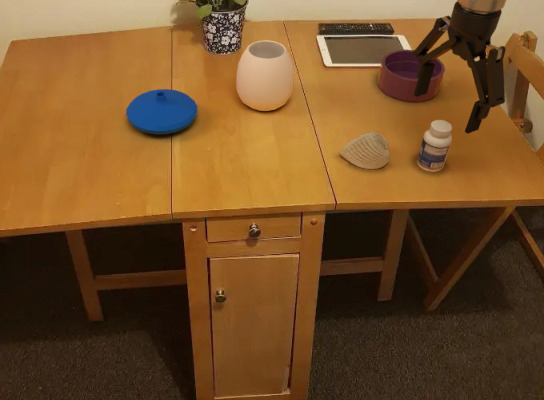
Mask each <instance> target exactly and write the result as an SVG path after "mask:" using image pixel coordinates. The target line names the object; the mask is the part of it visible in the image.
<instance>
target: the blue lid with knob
mask: <svg viewBox="0 0 544 400" xmlns="http://www.w3.org/2000/svg"><path fill="white" fill-rule="evenodd" d="M197 114H198V105H197V103H196V101H195V100H194V99H193V98H192V97H191V96H190V95H188V94H187V93H185V92H182V91H179V90H176V89H169V88H161V89H160V88H159V89H154V90H149V91H146V92H143V93H141V94H139V95H137V96H135V98H134V99H132V100H131V101H130V103H129V104H128V105H127V108H126V112H125V115H126V117H127V120H128V121H129V123H130V125H132V126H133V128H135V129H137V130H138V131H140V132H143V133H146V134H150V135H169V134H174V133H177V132H180V131H183V130H184V129H186V128H188V127H190V126H191V124H192V123H194V121H195V119H196V117H197Z"/></svg>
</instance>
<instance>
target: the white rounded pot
mask: <svg viewBox="0 0 544 400" xmlns="http://www.w3.org/2000/svg"><path fill="white" fill-rule="evenodd" d="M294 67H295V66H294V63H293V59H292V56H291V55H290V53H289V51H288V49H287V48H286V46H285V45H284V44H282V43H280V42H278V41H274V40H267V39H266V40H264V39H263V40H256V41H254V42H252V43H249V44H248V46H247V47H246V48H245V49H244V52H243V53H242V54H241V57H240V59H239V61H238V64H237V69H236V78H235V79H236V80H235V83H236V86H235V87H236V89H235V90H236V93H237V94H238V97H239V99H240V100H241V102H242V103H243V104H244V105H246V106H248V107H249V108H251V109H252V110H255V111H258V112H259V111H260V112H270V111H275V110H277V109H279V108H281V107H283V106H284V105H286V103H287V102H288V101H289V100H290V97H291V96H292V94H293V92H294V84H295V83H294V82H295V79H294V78H295V74H294V73H295V69H294Z"/></svg>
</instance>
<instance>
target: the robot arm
mask: <svg viewBox="0 0 544 400" xmlns="http://www.w3.org/2000/svg"><path fill="white" fill-rule="evenodd" d="M506 2H507V0H456V1H455V2H454V5H453V8H452V11H451V15H445V16H442V17H437V18H436V20H435V22H434V24H433V27H432V29H431V30H430V31H429V32H428V34H427V35H426V36H425V37H424V38H423V39H422V41H421V42H420V43H419V44H418V45H417V47H416V48H415V49H413V50H414V52H413V56H414V57H417V58H418V59H419V63H420V64H419V68H418V71H417V78H418V81H417V85H416V88H415V92H414V96H416V97H418V96H421V95H424V94H427V91H428V87H429V84H430V80H431V77H432V73H433V70H434V66H435V64H434V63H430V62H431V61H434V59H436V58H438V59H439V57H441V56H443V55H445V54H447V53H448V52H450V51H452V52H451V53H452V54H453V55H455V56H458V57H459V58H460V59H462V60H463V61H465V62H466V63H467V66H468V68H470V69H471V73H472V77H473V81H474V85H475V89H476V93H477V97H478V100H476V101H474V104H473V107H472V109H471V113H470V115H469V118H468V121H467V123H466V126H465V129H464V133H465V134H466V135H468V134H471V133H474V132H477V131H479V129H480V127H481V124H482V121H483V120H484V119H486V118H488V116H489V113H490V111H491V108H495V107H498V106H500V105H503V104H505V102H506V93H505V74H504V73H505V72H504V58H505V54H506V46H504V45H501V46H496V45H494V44H492V42H491V41H492V39H491V38H492V36H493V34H494V33H495V31H496V29H497V27H498V24H499V21H500V19H501V15H502V12H503V11H502V9H503V8H504V7H505V5H506ZM446 32H447V37H448V39H447V40H446V41H444V42H443V43H441V44H440V45H438V46H437V47H435V48H434V49H433V47H434V46H435V44H436V43H437V42H438V41H439V40H440V39H441V37H442V36H443V35H444V34H445V33H446ZM431 49H432V50H431ZM430 50H431V51H430ZM427 53H428V54H427ZM477 58H479V59H478V60H475V59H477Z"/></svg>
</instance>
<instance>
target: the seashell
mask: <svg viewBox="0 0 544 400" xmlns="http://www.w3.org/2000/svg"><path fill="white" fill-rule="evenodd" d="M388 148H389V142H388V141H387V139H386V138H385V136H383V135H382V134H381V133H380V132H377V131H370V132H369V131H368V132H365V133H363V134H361V135H359V136H357V137H355V138H353V139H350V141H349V142H348V143H346V144H345V145H344V147H343V148H341V151H340V152H339V154H340V156H342V157H343V158H344V159H345V160H346V161H348V162H349V163H351V164H352V165H354V166H356V167H358V168H362V169H366V170H377V169H380V168H383V167H385V166H386V165H387V164H388V163H389V162H390V158H391V154H390V152H389V150H388Z"/></svg>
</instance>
